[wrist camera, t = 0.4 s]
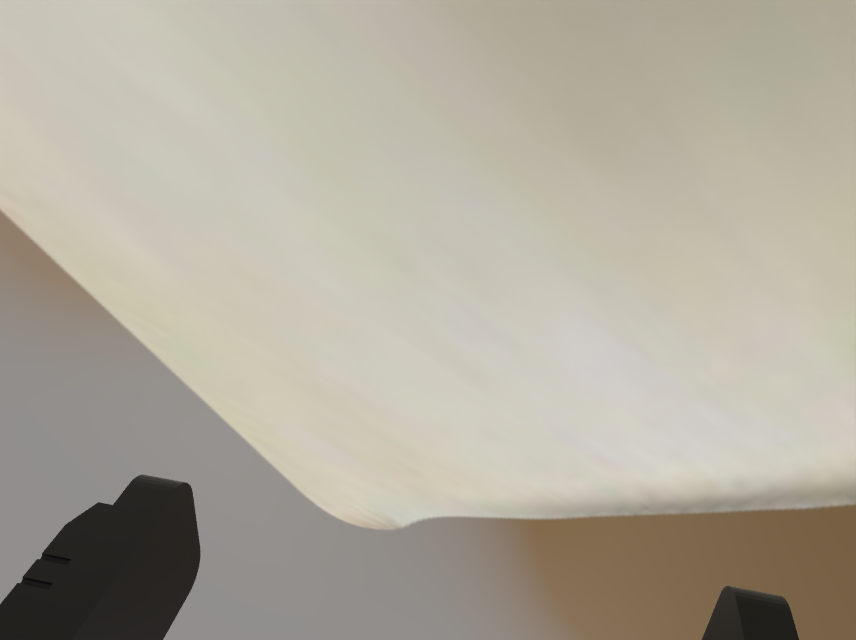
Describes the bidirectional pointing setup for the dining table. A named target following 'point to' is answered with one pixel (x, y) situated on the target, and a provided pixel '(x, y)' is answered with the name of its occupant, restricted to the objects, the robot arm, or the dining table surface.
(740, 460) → the dining table surface
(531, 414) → the dining table surface
